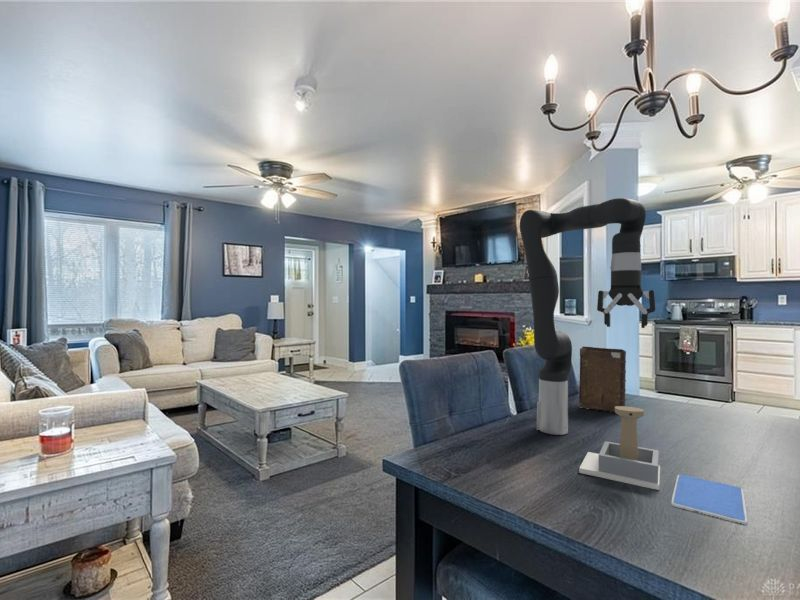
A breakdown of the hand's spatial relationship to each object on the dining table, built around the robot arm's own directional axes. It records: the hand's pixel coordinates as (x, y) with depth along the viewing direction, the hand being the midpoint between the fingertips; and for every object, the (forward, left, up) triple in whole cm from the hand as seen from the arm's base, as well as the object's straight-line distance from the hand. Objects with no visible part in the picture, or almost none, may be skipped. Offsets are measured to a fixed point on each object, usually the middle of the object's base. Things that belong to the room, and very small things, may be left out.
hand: (625, 327), depth 115 cm
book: (-12, +52, -36) cm, 65 cm away
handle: (+2, -13, -35) cm, 37 cm away
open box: (0, -13, -36) cm, 38 cm away
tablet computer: (+18, -18, -37) cm, 45 cm away
